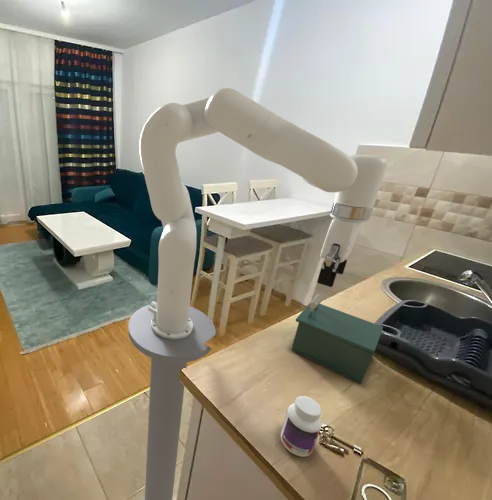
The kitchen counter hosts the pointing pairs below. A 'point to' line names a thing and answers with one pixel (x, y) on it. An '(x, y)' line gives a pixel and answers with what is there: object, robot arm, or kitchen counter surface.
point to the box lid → (340, 325)
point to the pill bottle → (301, 426)
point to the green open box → (332, 352)
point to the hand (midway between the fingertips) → (330, 278)
